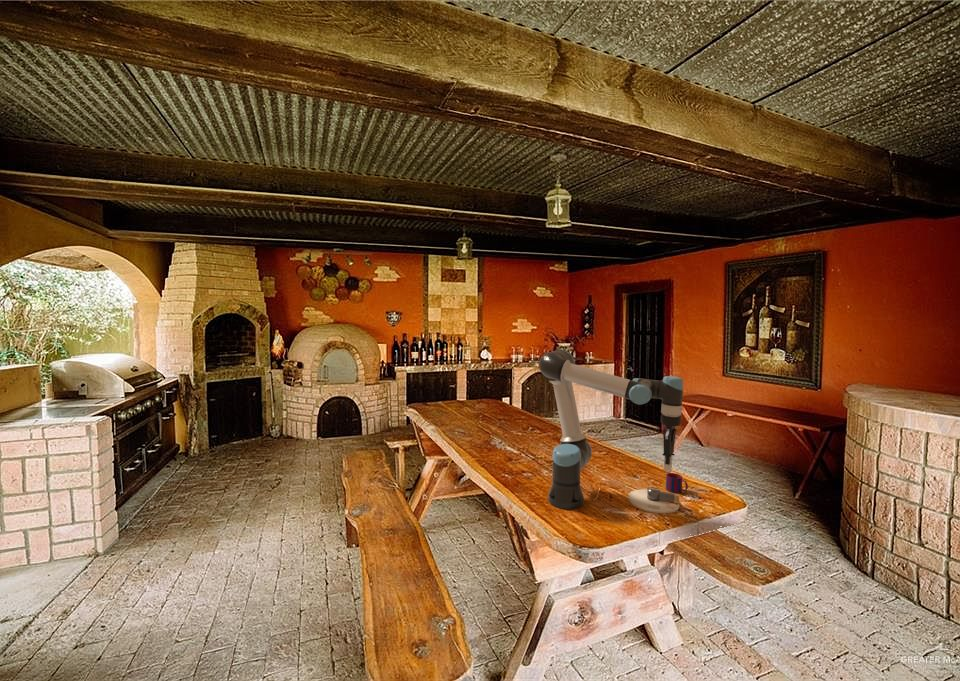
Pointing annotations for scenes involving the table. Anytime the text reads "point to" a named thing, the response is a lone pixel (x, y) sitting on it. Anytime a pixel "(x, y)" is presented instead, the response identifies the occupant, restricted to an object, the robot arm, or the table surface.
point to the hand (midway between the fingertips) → (667, 471)
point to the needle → (661, 495)
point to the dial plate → (651, 503)
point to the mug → (674, 483)
